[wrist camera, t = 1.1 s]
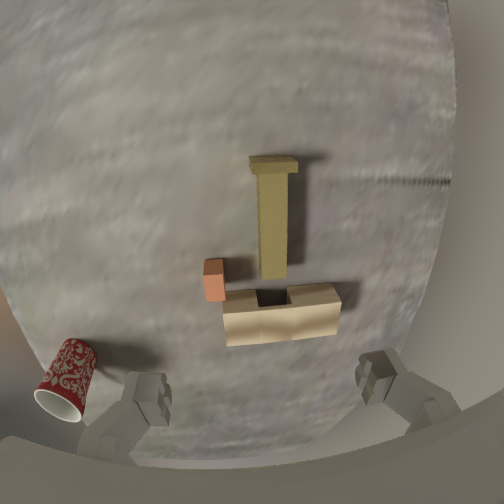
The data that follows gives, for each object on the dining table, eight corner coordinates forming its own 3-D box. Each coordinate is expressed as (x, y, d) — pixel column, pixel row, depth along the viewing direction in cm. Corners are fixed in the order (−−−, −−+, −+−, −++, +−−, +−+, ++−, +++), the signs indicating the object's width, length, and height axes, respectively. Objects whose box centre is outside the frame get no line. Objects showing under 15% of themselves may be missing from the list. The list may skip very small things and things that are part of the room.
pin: (248, 156, 34) (252, 163, 30) (288, 155, 34) (298, 161, 30) (253, 268, 41) (256, 287, 37) (287, 265, 41) (294, 284, 37)
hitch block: (222, 291, 42) (222, 313, 38) (330, 282, 43) (341, 302, 39) (226, 323, 45) (227, 346, 40) (326, 313, 46) (336, 334, 41)
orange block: (204, 259, 39) (203, 275, 36) (222, 258, 39) (222, 274, 36) (208, 285, 41) (207, 302, 38) (225, 283, 41) (225, 300, 38)
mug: (53, 330, 43) (25, 384, 32) (95, 338, 45) (71, 397, 33) (71, 374, 49) (52, 425, 37) (109, 382, 50) (94, 436, 38)
